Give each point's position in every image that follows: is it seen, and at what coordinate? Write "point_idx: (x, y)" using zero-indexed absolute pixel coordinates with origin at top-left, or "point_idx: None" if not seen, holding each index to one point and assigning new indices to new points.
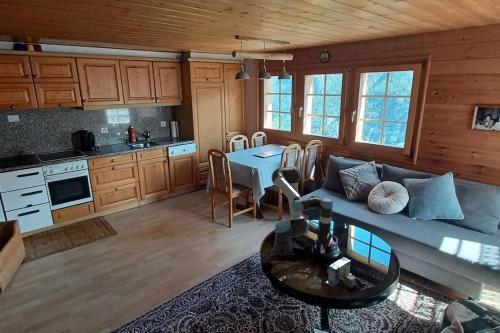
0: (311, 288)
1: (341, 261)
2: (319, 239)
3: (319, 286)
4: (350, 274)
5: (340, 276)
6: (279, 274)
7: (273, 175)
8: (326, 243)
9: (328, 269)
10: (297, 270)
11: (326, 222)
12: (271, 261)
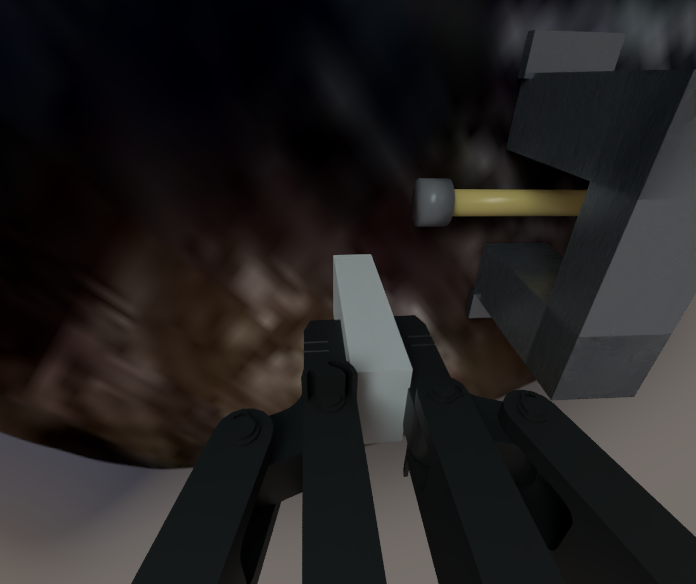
0: None
1: (670, 231)
2: (262, 552)
3: (447, 357)
4: (617, 52)
5: (558, 207)
6: (203, 445)
7: None
8: (542, 531)
9: (430, 219)
10: (229, 351)
11: None
12: (33, 411)
